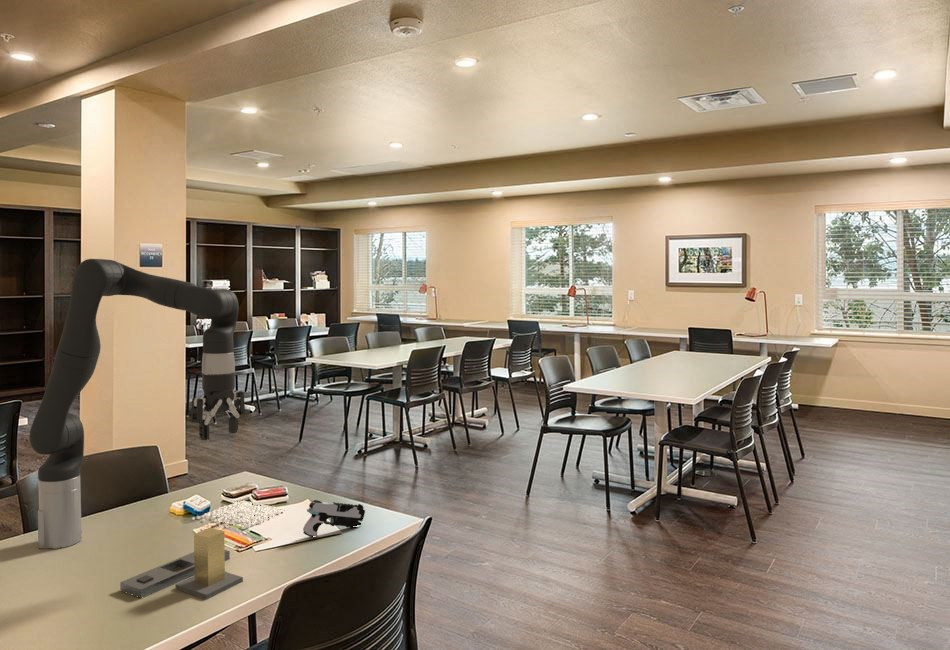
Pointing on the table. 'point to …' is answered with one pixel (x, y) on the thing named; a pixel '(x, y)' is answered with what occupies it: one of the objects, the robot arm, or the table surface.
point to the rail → (161, 576)
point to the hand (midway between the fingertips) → (219, 436)
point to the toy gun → (332, 515)
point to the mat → (207, 592)
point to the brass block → (209, 556)
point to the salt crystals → (247, 513)
